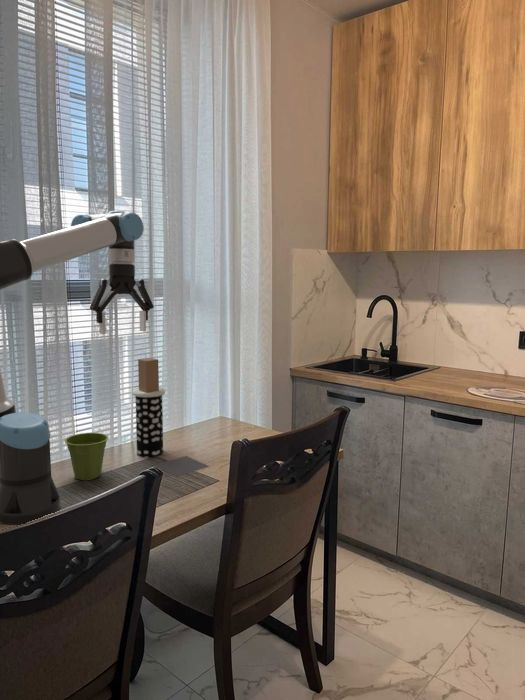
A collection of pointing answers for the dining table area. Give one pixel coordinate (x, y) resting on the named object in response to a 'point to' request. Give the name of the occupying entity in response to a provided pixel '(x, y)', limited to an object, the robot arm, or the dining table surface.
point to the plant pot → (87, 454)
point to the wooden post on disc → (148, 379)
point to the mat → (181, 466)
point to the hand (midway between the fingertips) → (123, 332)
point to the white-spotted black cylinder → (149, 426)
